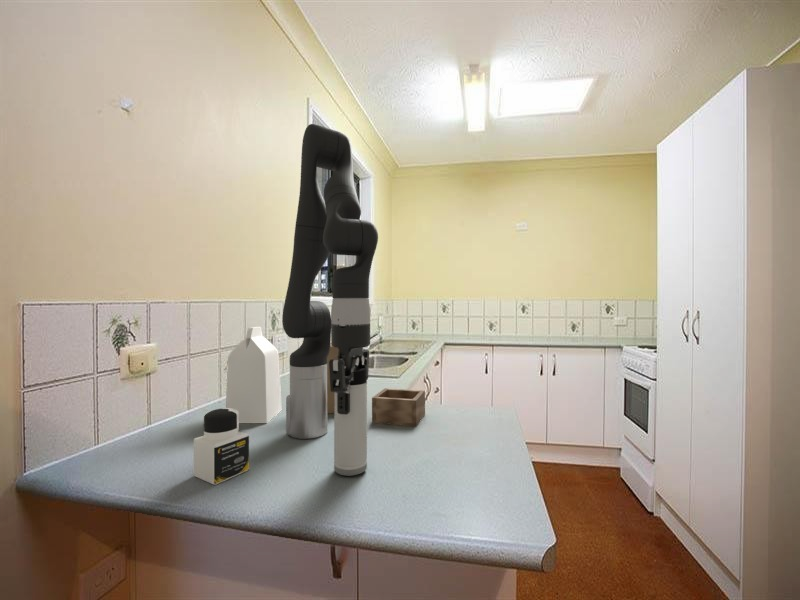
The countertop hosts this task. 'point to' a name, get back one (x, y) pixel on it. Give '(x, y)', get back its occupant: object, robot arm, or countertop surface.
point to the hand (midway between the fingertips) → (350, 408)
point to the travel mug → (352, 429)
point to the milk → (254, 379)
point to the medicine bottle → (221, 447)
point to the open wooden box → (398, 407)
